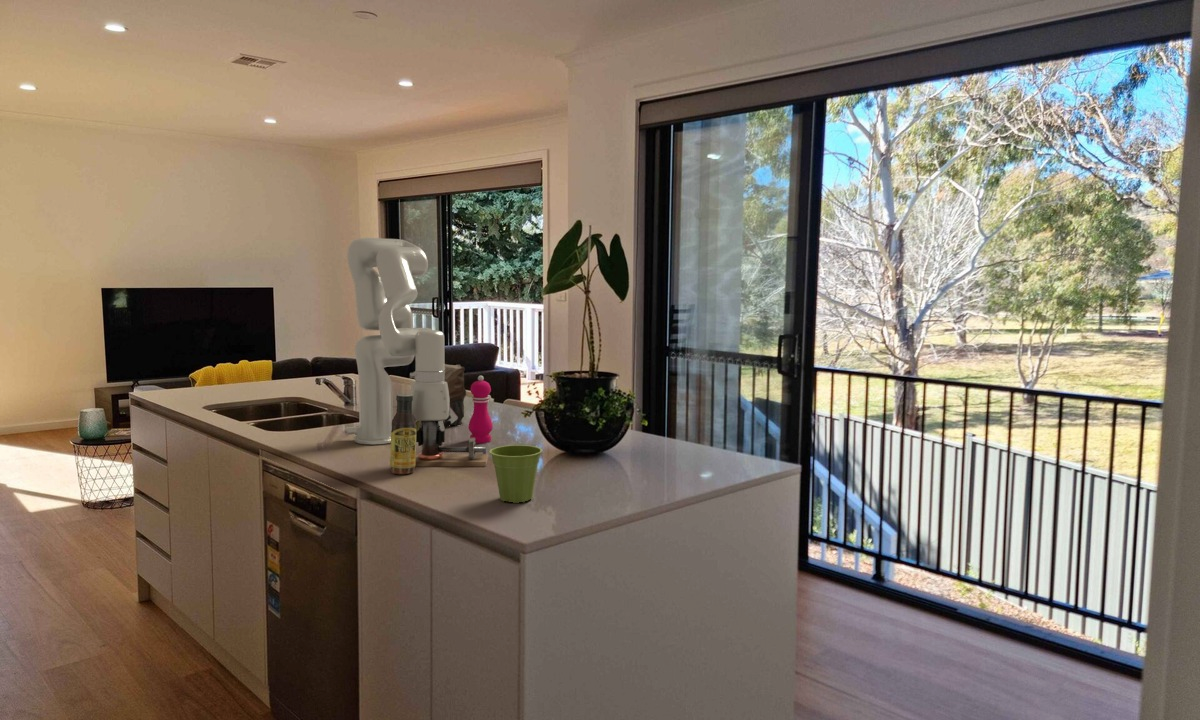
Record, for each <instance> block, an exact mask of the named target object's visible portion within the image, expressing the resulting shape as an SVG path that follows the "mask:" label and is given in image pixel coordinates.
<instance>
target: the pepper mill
mask: <svg viewBox="0 0 1200 720" xmlns="http://www.w3.org/2000/svg"><path fill="white" fill-rule="evenodd" d="M484 379H485V378H484V376H483V375H479V376H478V377H477V380H476V381H473V383H472V384H471V386H470V393H471V395H472V397H471V398H472V402H473V412H472V416H471V417H470V419H469V422H468V431H469V432H470V433H471V434H470V436H469V440H470V439H471V438H475V444H488V443H490V442H491V441H492V435H491V434H490V433H491V432H492V431H493V421H492V419H491V416H490V414H489V409H488V402H490V397H489V395H490V393H491V392H492V388H491V385H490V383H489V382H487V381H486V380H484ZM487 442H488V443H487Z"/></svg>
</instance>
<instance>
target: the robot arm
mask: <svg viewBox="0 0 1200 720" xmlns="http://www.w3.org/2000/svg"><path fill="white" fill-rule="evenodd" d="M346 255H347V256H346V257H347V258H346V259H347V266H348V269H349V272H350V275H351V277H352V280H353V284H354V293H355V305H356V306H355V308H356V315H357V323H358V325H359V327H360V328H361V329H362V330H363V331H373V332H374V331H379V334H373V335H372V334H371V335H370V334H369V335H367V336H363V337H361V338H359V339H358V340H357V341H356V343H355V345H354V355H355V360H356V365H357V366H356V367H357V372H358V409H359V410H358V411H359V413H358V414H359V415H358V416H359V418H358V419H359V420H358V421H359V423H358V424H359V425H358V426H355V427H352V426H346V427H344V428H345V429H344V433H345V434H346V435H355V436H354V439H353V440H354V443H357V444H359V445H360V444H361V445H371V446H372V445H374V446H375V445H385V444H391V431H392V420H393V418H394V417H393V382H392V379H391V377H390V375H389V373H388V372H387V371H386V370H385V368H387V367H400V366H409V365H410V364H412V363H413V361H414V360H415V371H413V372H409V378H411V379H414V381H413V382H412V384H411V390H410V394H411V395H413V401H412V413H413V415H414V417H415V419H416V443H417V444H418V447H422V421H438V423H439V426H440V427H439V432H438V446H439V447H442V445H443V443H445V441H446V436H445V435H446V433H445V432H446V431H445V430H447V428H448V427H450V426H449V425H450V424H452V423H453V422H454V421H456V420H457V419H458V416H457V415H456V414H455V412H454V411H453V410H452V409H451V407H450V399H449V390H448V384H447V382H445V364H446V363H445V359H446V358H445V355H446V354H445V351H446V350H445V334H444V333H443V331H441V330H437V329H434V330H433V329H432V328H430V327H414V322H413V312H412V310H411V309H412V308H411V307H410V304H411V303H413V302H414V301H416V299H417V298H418V295H419V294H418V290H417V289H418V288H417V286H416V283H415V281H414V278H419V277H420V278H421V277H423V276H425V275H426V273H427V272H428V269H429V261H428V257H427V255H426V252H424V250H423V249H422V248H421V247H419V246H417V245H415V244H414V243H412V242H409V241H407V240H405V239H402V238H401V239H398V238H381V237H360V238H356V239H353V240H352V241H351V242H350V244H349V245H348V248H347V254H346ZM374 268H377V270H378V272H377V270H375V269H374ZM449 415H450V416H451V418H450V419H449V420H448V421H447V422H446V423H445V421H444V420H446V419H447V418H448V417H449Z"/></svg>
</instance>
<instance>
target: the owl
mask: <svg viewBox="0 0 1200 720" xmlns="http://www.w3.org/2000/svg"><path fill="white" fill-rule="evenodd" d="M465 370H466V369H465V367H464V366H461V364H456V365H453V364H447V363H445V382H447V384H448V390H449V399H450V407H451V409H452V410H453V411H454V412H455V414H456V415H457V416H458V419H457V420H456V421H454V422H453V423H452V424H450V425H461V424H463V421H462V420H463V418H464V417H465V405H464V403H465V402H464V401H465V398H466V395H467V390H466V388H465V374H464V373H465ZM450 418H451V416H450V415H449V417H448V418H447V419H446V420H444V421H445V423H446V422H447V421H448V420H449V419H450Z"/></svg>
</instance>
